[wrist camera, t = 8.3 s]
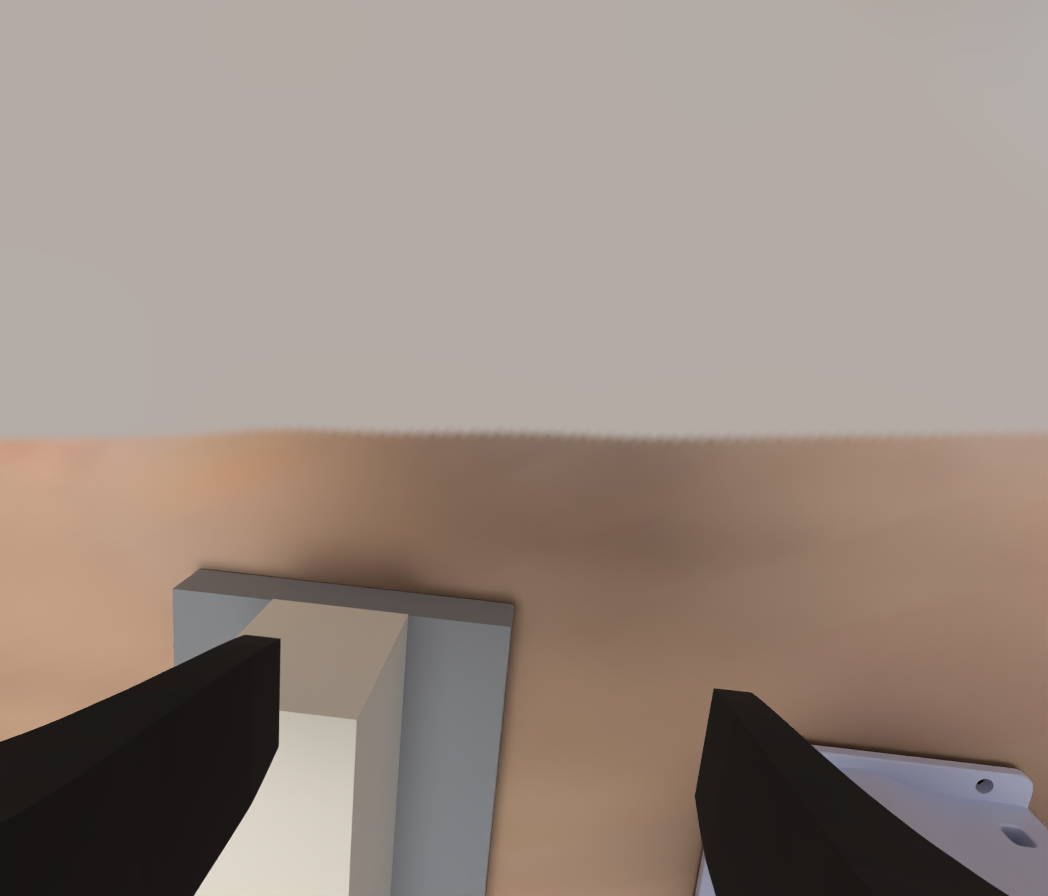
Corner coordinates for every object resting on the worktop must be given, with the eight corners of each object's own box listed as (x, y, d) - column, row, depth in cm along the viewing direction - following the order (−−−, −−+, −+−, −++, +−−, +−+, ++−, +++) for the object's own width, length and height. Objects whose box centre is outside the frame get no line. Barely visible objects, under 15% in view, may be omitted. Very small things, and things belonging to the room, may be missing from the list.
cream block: (408, 614, 19) (356, 719, 14) (388, 923, 22) (338, 1105, 17) (273, 598, 19) (176, 698, 14) (268, 908, 22) (184, 1083, 17)
